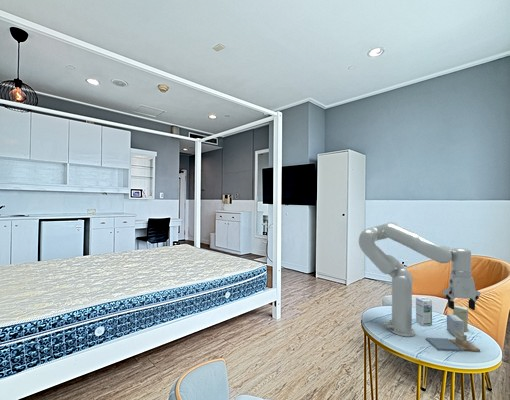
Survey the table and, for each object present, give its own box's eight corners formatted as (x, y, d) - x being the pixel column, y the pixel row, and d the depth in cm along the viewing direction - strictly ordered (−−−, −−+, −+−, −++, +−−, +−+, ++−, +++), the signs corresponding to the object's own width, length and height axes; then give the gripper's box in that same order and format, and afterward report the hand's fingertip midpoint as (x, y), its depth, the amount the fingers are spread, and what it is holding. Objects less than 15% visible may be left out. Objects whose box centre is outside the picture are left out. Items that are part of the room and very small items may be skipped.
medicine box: (464, 337, 136) (464, 321, 136) (454, 336, 137) (454, 320, 137) (455, 330, 143) (455, 314, 144) (446, 329, 144) (446, 314, 145)
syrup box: (423, 326, 148) (423, 300, 149) (415, 321, 154) (415, 296, 154) (432, 325, 149) (432, 300, 149) (424, 321, 155) (424, 296, 155)
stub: (462, 350, 123) (462, 338, 123) (449, 340, 132) (449, 329, 132) (480, 351, 123) (480, 339, 123) (465, 341, 132) (465, 329, 132)
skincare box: (452, 328, 146) (452, 306, 147) (454, 325, 149) (454, 304, 150) (467, 332, 142) (467, 309, 142) (468, 329, 145) (468, 307, 145)
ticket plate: (438, 350, 123) (438, 348, 123) (425, 339, 133) (425, 337, 133) (462, 351, 123) (462, 349, 123) (447, 340, 133) (447, 338, 133)
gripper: (448, 275, 125) (448, 311, 124) (486, 276, 124) (486, 312, 124) (438, 271, 132) (438, 305, 132) (473, 272, 131) (473, 306, 131)
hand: (461, 308), depth 128 cm, fingers open, 9 cm apart
